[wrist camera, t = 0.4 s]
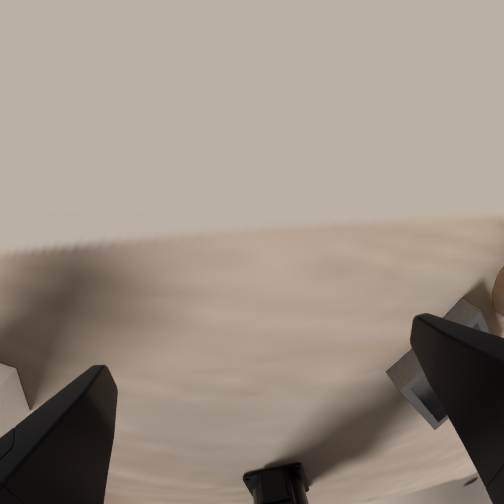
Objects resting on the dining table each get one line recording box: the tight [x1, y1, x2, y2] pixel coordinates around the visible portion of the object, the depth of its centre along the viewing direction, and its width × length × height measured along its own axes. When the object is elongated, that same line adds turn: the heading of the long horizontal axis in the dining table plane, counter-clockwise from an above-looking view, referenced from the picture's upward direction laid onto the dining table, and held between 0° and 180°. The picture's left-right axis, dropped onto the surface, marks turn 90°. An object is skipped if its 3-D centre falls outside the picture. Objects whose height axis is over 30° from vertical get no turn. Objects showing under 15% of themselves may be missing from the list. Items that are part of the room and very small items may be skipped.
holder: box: [386, 298, 490, 430], centre depth 25 cm, size 10×10×3 cm
